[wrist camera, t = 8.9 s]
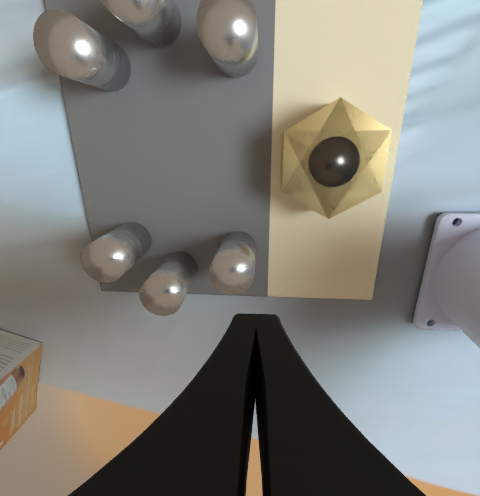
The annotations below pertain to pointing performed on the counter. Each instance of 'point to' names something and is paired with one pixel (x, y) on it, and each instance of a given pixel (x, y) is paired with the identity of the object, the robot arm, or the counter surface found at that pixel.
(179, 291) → the standing spacers
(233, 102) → the spacer mat
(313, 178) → the brass nut
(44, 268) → the counter surface
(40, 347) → the small box
